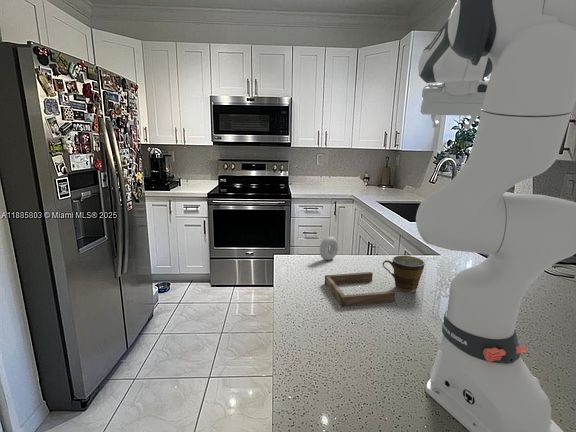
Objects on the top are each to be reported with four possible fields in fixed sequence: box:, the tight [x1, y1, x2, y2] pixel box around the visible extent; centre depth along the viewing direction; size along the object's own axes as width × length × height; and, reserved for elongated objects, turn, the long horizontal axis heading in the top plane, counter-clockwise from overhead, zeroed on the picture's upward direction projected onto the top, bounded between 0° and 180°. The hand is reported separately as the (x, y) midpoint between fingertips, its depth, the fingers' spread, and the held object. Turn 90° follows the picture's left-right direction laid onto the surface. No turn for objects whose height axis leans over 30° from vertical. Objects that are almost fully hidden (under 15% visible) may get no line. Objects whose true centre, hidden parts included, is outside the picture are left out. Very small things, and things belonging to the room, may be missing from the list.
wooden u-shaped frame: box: [324, 271, 396, 307], centre depth 103 cm, size 16×17×3 cm
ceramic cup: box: [382, 255, 426, 294], centre depth 105 cm, size 13×10×10 cm
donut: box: [319, 236, 339, 261], centre depth 131 cm, size 10×4×10 cm, turn 131°
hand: (450, 127), depth 104 cm, fingers open, 8 cm apart
